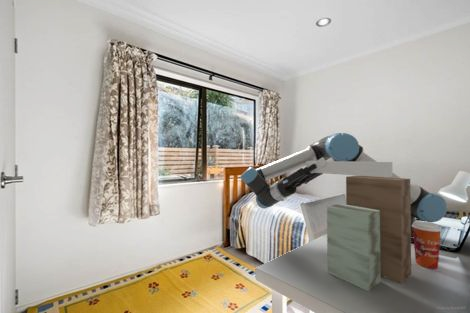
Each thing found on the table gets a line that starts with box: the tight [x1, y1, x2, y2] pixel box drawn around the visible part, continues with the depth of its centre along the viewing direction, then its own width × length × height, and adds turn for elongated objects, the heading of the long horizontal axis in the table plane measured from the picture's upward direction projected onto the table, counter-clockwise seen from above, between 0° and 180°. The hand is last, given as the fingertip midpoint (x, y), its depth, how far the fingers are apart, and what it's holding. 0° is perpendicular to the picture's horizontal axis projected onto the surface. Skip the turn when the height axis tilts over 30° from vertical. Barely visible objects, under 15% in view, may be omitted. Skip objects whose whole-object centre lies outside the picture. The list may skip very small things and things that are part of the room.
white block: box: [305, 161, 393, 177], centre depth 68 cm, size 4×25×4 cm, turn 35°
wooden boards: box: [326, 175, 412, 292], centre depth 68 cm, size 20×16×30 cm
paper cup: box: [412, 220, 443, 270], centre depth 73 cm, size 8×8×14 cm
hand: (329, 160), depth 72 cm, fingers closed on white block, 4 cm apart
